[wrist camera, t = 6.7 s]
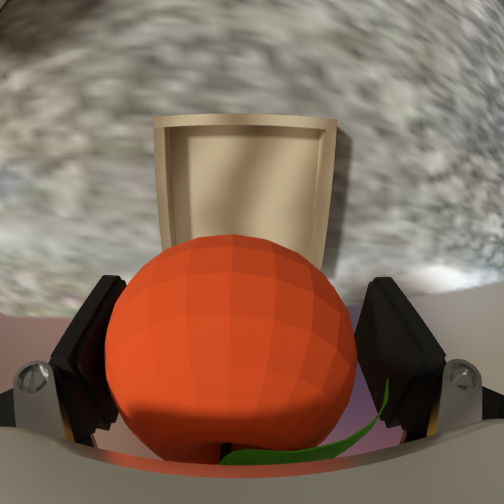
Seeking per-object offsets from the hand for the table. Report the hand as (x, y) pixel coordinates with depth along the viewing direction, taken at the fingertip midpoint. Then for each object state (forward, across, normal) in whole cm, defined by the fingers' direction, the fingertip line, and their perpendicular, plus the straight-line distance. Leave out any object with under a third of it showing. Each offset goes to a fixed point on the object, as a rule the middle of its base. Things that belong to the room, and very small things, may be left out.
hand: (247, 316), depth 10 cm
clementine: (+2, 0, 0) cm, 2 cm away
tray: (+16, 0, 0) cm, 16 cm away
